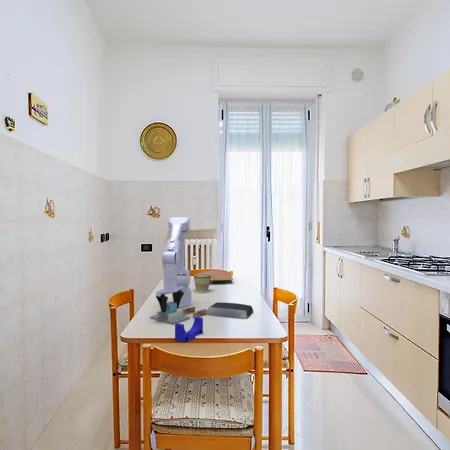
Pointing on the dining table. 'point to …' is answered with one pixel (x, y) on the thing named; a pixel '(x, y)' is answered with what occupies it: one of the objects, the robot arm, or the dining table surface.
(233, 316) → the external hard drive
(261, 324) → the dining table surface
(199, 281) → the ceramic cup
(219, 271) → the sandwich
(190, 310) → the cradle
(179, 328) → the blue cradle holder
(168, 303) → the blue rectangular block
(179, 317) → the dock
